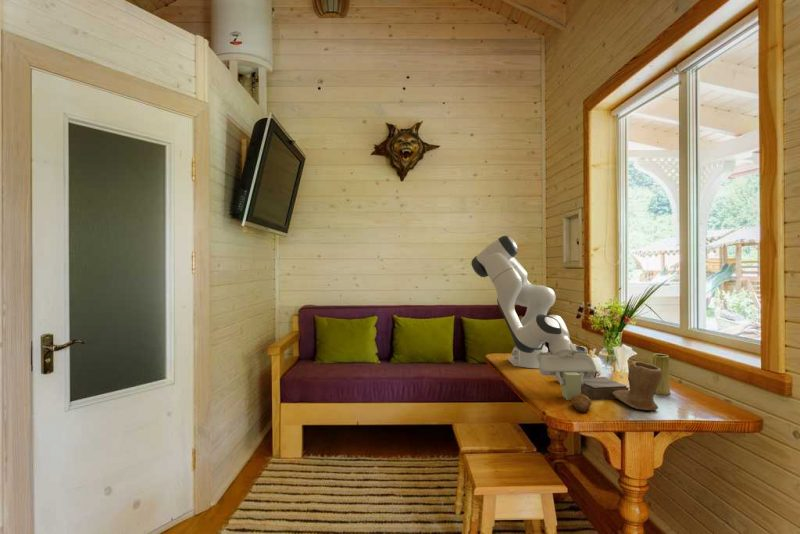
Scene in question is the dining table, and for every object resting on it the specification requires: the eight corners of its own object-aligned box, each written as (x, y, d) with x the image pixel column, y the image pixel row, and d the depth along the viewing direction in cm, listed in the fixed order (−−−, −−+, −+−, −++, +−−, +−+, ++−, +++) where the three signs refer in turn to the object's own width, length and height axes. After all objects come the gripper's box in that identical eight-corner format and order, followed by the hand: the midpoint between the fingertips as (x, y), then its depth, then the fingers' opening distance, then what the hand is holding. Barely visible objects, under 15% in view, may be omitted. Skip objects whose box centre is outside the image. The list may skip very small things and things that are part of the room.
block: (562, 395, 160) (562, 371, 160) (575, 395, 160) (575, 371, 160) (567, 399, 155) (567, 374, 155) (581, 399, 155) (581, 374, 155)
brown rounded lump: (569, 401, 155) (569, 387, 154) (590, 403, 152) (590, 389, 152) (570, 413, 142) (570, 398, 142) (593, 415, 139) (593, 400, 139)
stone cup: (669, 413, 141) (669, 367, 141) (632, 412, 142) (632, 367, 141) (644, 399, 156) (645, 357, 156) (611, 398, 157) (611, 357, 157)
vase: (657, 389, 168) (658, 352, 168) (673, 393, 162) (673, 355, 162) (647, 391, 165) (648, 354, 165) (663, 395, 160) (663, 357, 160)
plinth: (572, 388, 170) (572, 378, 170) (604, 386, 172) (604, 376, 172) (593, 399, 156) (593, 388, 156) (628, 397, 158) (628, 386, 158)
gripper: (537, 347, 165) (545, 380, 155) (591, 347, 164) (602, 380, 155) (533, 357, 169) (541, 389, 159) (586, 357, 169) (597, 389, 159)
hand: (572, 384), depth 157 cm, fingers closed on block, 5 cm apart
